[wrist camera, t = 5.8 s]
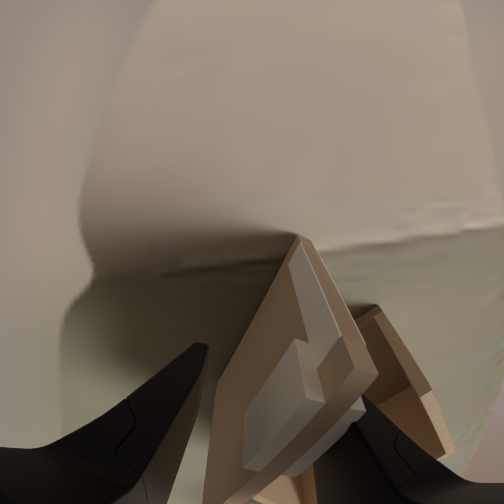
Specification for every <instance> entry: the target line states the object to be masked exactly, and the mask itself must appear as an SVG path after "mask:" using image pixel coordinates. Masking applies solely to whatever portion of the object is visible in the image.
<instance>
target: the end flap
mask: <svg viewBox="0 0 504 504" xmlns="http://www.w3.org/2000/svg"><path fill="white" fill-rule="evenodd" d="M378 375H379V373H378V371H377V369H376V367H375V365H374V363H373V361H372V358H371V356H370V354H369V352H368V350H367V348H366V343H365V341H364V339H363V337H362V335H361V333H360V331H359V329H358V327H357V325H356V323H355V321H354V319H353V317H352V315H351V313H350V311H349V310H348V308H347V306H346V304H345V302H344V300H343V298H342V296H341V294H340V292H339V290H338V289H337V287H336V285H335V283H334V281H333V279H332V277H331V275H330V274H329V272H328V270H327V268H326V266H325V264H324V263H323V261H322V259H321V257H320V255H319V253H318V252H317V250H316V249H315V248H314V246H313V244H312V242H311V241H310V240H308V239H306V238H304V237H302V236H300V235H297V237H296V239H295V240H294V242H293V244H292V246H291V248H290V250H289V252H288V254H287V256H286V258H285V260H284V262H283V264H282V266H281V267H280V269H279V271H278V273H277V275H276V277H275V279H274V281H273V283H272V284H271V286H270V288H269V290H268V292H267V294H266V296H265V298H264V299H263V301H262V303H261V305H260V307H259V309H258V311H257V312H256V314H255V316H254V318H253V320H252V322H251V324H250V325H249V327H248V329H247V331H246V333H245V335H244V336H243V338H242V340H241V342H240V344H239V345H238V347H237V349H236V351H235V353H234V354H233V356H232V358H231V360H230V362H229V363H228V365H227V367H226V369H225V370H224V372H223V374H222V376H221V378H220V379H219V381H218V383H217V385H216V393H215V400H214V408H213V416H212V424H211V433H210V441H209V449H208V458H207V466H206V475H205V484H204V493H203V502H202V504H245V503H246V502H248V501H249V500H250V499H252V498H253V497H254V496H255V495H257V494H258V493H259V492H261V491H262V490H263V489H264V488H266V487H267V486H268V485H269V484H271V483H272V482H273V481H274V480H275V479H277V478H278V477H279V476H280V475H284V476H291V477H297V476H298V475H299V474H300V473H301V472H303V471H304V470H305V469H306V468H307V467H309V466H310V465H311V464H312V463H313V462H314V461H316V460H317V459H318V458H319V457H320V456H321V455H322V454H323V453H325V452H326V451H327V450H328V449H329V448H330V447H331V446H332V445H333V444H334V443H335V442H336V441H337V440H339V439H340V438H341V437H342V436H343V435H344V434H345V432H346V431H347V429H348V428H349V426H350V424H351V423H352V422H355V421H358V420H359V419H360V418H361V417H362V416H363V414H364V413H365V412H366V409H365V407H364V404H363V401H362V398H361V395H362V394H363V393H364V392H365V390H366V389H367V388H368V387H369V386H370V385H371V383H372V382H373V381H374V380H375V379H376V377H377V376H378Z"/></svg>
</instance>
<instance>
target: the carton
mask: <svg viewBox="0 0 504 504" xmlns="http://www.w3.org/2000/svg"><path fill="white" fill-rule="evenodd" d="M354 321H355V323H356V325H357V327H358V329H359V331H360V333H361V335H362V337H363V339H364V341H365V343H366V348H367V350H368V352H369V354H370V356H371V358H372V361H373V363H374V365H375V367H376V369H377V371H378V373H379V375H378V376H377V377H376V379H375V380H374V381H373V382H372V383H371V385H370V386H369V387H368V388H367V389H366V390H365V392H364V393H363V394H364V395H365V396H366V397H367V398H368V399H369V400H370V401H371V402H372V403H373V404H374V405H375V406H377V407H378V408H379V409H380V410H381V411H382V412H383V413H384V414H385V415H386V416H387V417H388V418H389V419H390V420H391V421H392V422H393V423H394V424H395V425H396V426H398V429H401V430H402V431H403V432H404V433H405V434H406V435H407V436H408V437H409V438H411V439H412V440H413V441H414V442H415V443H416V444H417V445H418V446H420V447H421V448H422V449H423V450H425V451H426V452H427V453H428V454H430V455H431V456H432V457H434V458H435V459H436V460H438V461H441V460H443V459H444V458H446V457H448V456H449V455H451V454H452V453H454V452H456V450H455V447H454V444H453V441H452V439H451V436H450V433H449V430H448V428H447V425H446V422H445V420H444V417H443V415H442V412H441V409H440V407H439V404H438V402H437V400H436V397H435V395H434V392H433V390H432V388H431V386H430V385H429V383H428V381H427V380H426V378H425V376H424V375H423V373H422V372H421V370H420V368H419V367H418V365H417V364H416V362H415V360H414V359H413V357H412V356H411V354H410V352H409V351H408V349H407V348H406V346H405V345H404V343H403V341H402V340H401V338H400V337H399V335H398V334H397V332H396V331H395V329H394V328H393V326H392V325H391V323H390V322H389V320H388V319H387V317H386V316H385V314H384V313H383V311H382V310H381V308H380V307H379V305H377V306H375V307H374V308H372V309H371V310H369V311H368V312H366V313H365V314H363V315H362V316H360V317H358V318H357V319H355V320H354ZM252 499H254V500H256V501H258V502H260V503H262V504H317V496H316V487H315V479H314V470H313V463H312V464H311V465H310V466H309V467H307V468H306V469H305V470H304V471H303V472H301V473H300V474H299V475H298V476H297V477H291V476H284V475H280V476H279V477H278V478H277V479H275V480H274V481H273V482H272V483H271V484H269V485H268V486H267V487H266V488H264V489H263V490H262V491H261V492H259V493H258V494H257V495H255V496H254V497H253V498H252Z"/></svg>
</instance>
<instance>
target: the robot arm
mask: <svg viewBox="0 0 504 504" xmlns="http://www.w3.org/2000/svg"><path fill="white" fill-rule="evenodd" d="M208 352H209V345H207V344H203V343H197V342H196V343H194V344H193V345H191V346H190V347H189V348H188V349H186V350H185V351H184V352H183V353H182V354H180V355H179V356H178V357H177V358H175V359H174V360H173V361H172V362H170V363H169V364H168V365H167V366H165V367H164V368H163V369H162V370H160V371H159V372H158V373H157V374H155V375H154V376H153V377H152V378H150V379H149V380H148V381H147V382H145V383H144V384H143V385H142V386H140V387H139V388H138V389H137V390H135V391H134V392H133V393H131V394H130V395H129V396H128V397H127V398H126V399H124V400H122V401H121V402H120V403H118V404H117V405H116V406H114V407H113V408H112V409H110V410H109V411H107V412H106V413H105V414H103V415H102V416H100V417H98V418H97V419H95V420H93V421H92V422H90V423H88V424H87V425H85V426H83V427H81V428H79V429H78V430H76V431H74V432H72V433H70V434H68V435H67V436H65V437H63V438H61V439H59V440H57V441H55V442H53V443H51V444H49V445H46V446H43V447H40V448H34V449H22V448H6V447H0V504H167V501H168V498H169V495H170V493H171V490H172V487H173V484H174V481H175V478H176V475H177V472H178V469H179V467H180V464H181V461H182V458H183V455H184V452H185V449H186V446H187V443H188V440H189V438H190V435H191V432H192V429H193V426H194V423H195V420H196V417H197V413H198V409H199V404H200V399H201V393H202V388H203V383H204V378H205V373H206V367H207V359H208ZM361 398H362V401H363V404H364V407H365V409H366V412H365V413H364V414H363V416H362V417H361V418H360V419H359V420H358V421H355V422H352V423H351V424H350V426H349V428H348V429H347V431H346V432H345V434H344V435H343V436H342V437H341V438H340V439H339V440H337V441H336V442H335V443H334V444H333V445H332V446H331V447H330V448H329V449H328V450H327V451H326V452H325V453H323V454H322V455H321V456H320V457H319V458H318V459H317V460H316V461H314V462H313V470H314V479H315V487H316V496H317V504H504V483H475V482H471V481H468V480H465V479H463V478H461V477H460V476H458V475H457V474H455V473H454V472H452V471H451V470H450V469H448V468H447V467H446V466H444V465H443V464H442V463H440V462H439V461H438V460H436V459H435V458H434V457H432V456H431V455H430V454H428V453H427V452H426V451H425V450H423V449H422V448H421V447H420V446H418V445H417V444H416V443H415V442H414V441H413V440H412V439H411V438H409V437H408V436H407V435H406V434H405V433H404V432H403V431H402V430H401V429H398V426H396V425H395V424H394V423H393V422H392V421H391V420H390V419H389V418H388V417H387V416H386V415H385V414H384V413H383V412H382V411H381V410H380V409H379V408H378V407H377V406H375V405H374V404H373V403H372V402H371V401H370V400H369V399H368V398H367V397H366V396H365V395H364V394H362V395H361Z"/></svg>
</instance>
